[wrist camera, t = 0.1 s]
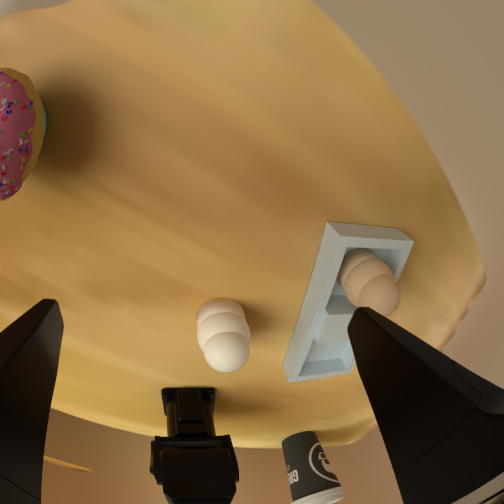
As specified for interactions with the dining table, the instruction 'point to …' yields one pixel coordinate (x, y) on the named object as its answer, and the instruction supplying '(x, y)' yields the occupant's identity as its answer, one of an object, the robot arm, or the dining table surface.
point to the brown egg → (368, 281)
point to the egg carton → (336, 300)
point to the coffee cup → (310, 471)
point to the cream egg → (223, 334)
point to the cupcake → (18, 130)
